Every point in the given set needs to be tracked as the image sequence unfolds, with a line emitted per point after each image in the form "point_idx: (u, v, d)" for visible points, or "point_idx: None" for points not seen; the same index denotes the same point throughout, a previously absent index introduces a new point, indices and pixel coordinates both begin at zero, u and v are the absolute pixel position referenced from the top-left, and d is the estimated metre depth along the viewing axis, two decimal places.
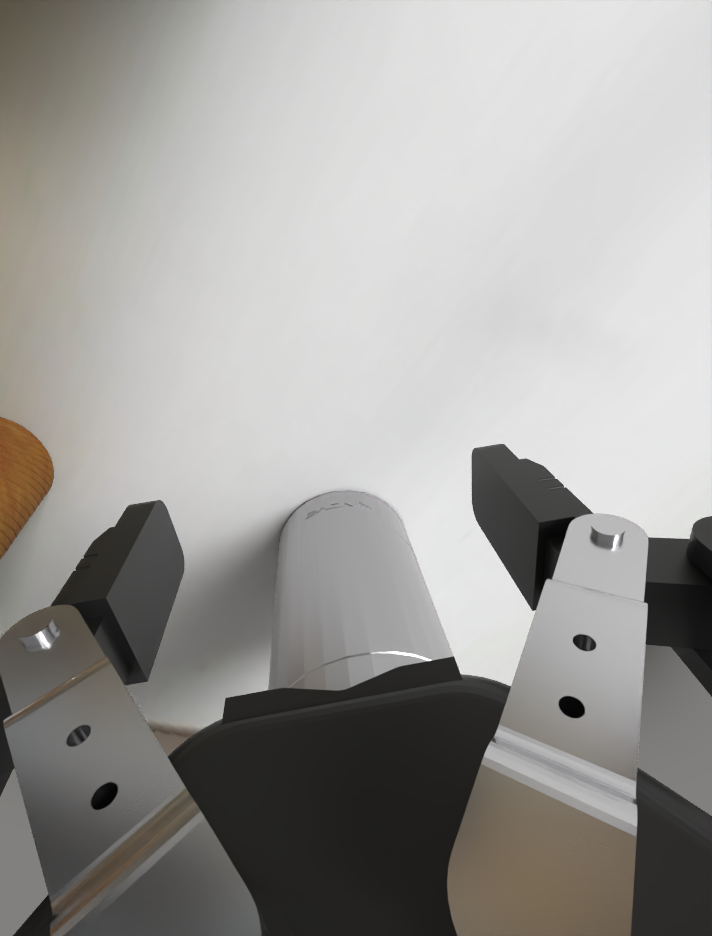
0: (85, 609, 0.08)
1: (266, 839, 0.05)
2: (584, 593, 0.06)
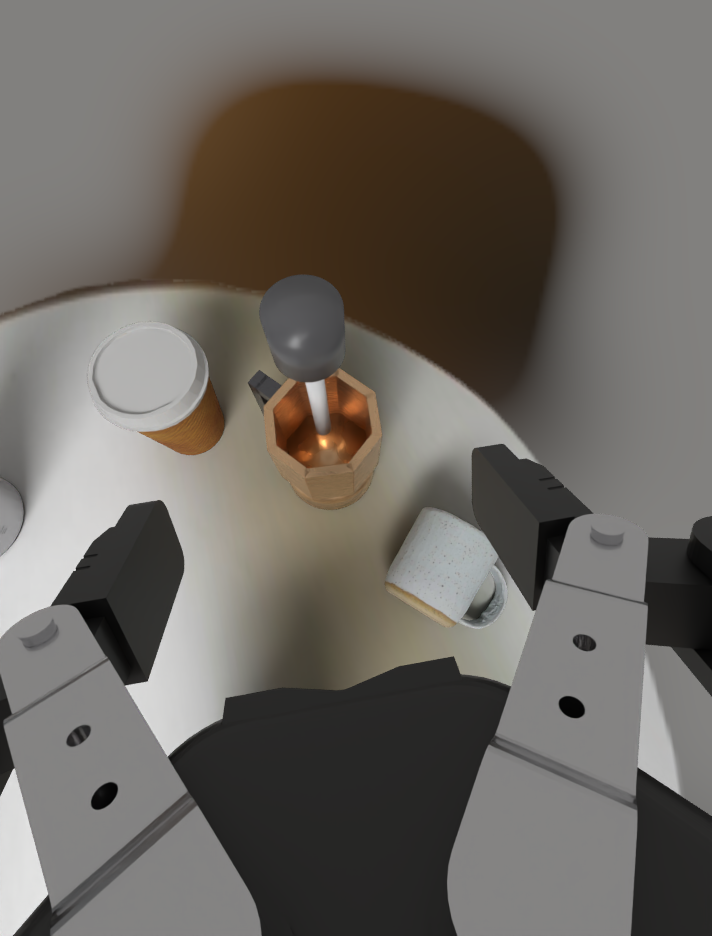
0: (85, 609, 0.08)
1: (266, 839, 0.05)
2: (584, 593, 0.06)
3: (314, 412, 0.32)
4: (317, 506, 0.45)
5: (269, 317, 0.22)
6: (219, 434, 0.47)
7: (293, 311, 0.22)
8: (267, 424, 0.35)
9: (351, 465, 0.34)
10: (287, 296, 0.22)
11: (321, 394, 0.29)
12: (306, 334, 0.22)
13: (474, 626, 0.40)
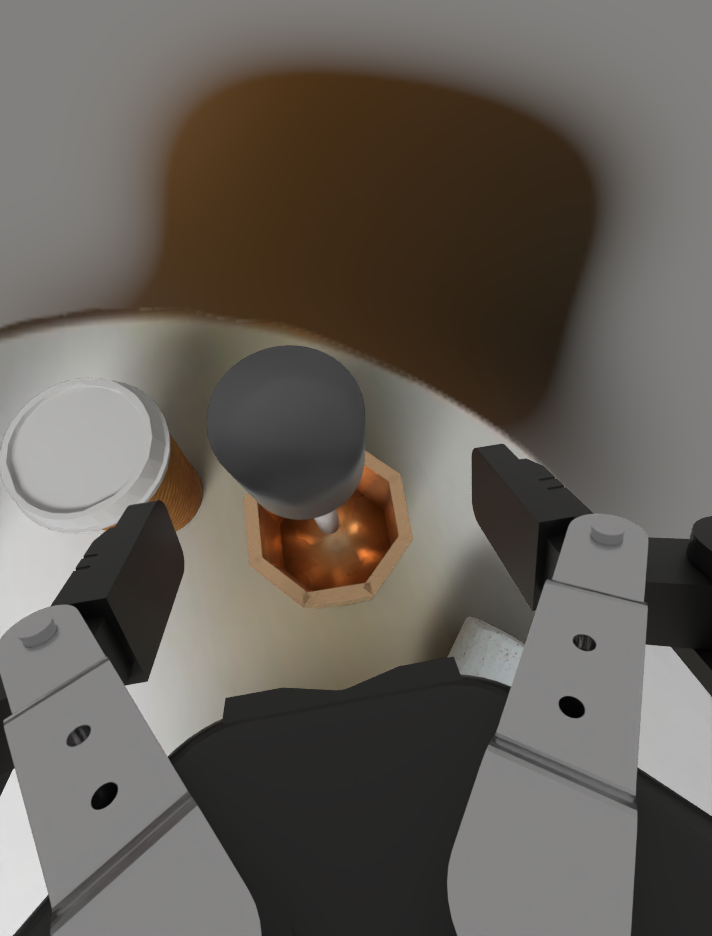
0: (85, 609, 0.08)
1: (266, 839, 0.05)
2: (584, 593, 0.06)
3: (315, 518, 0.22)
4: None
5: (225, 432, 0.12)
6: (195, 508, 0.36)
7: (271, 418, 0.12)
8: (249, 525, 0.25)
9: (370, 586, 0.23)
10: (259, 389, 0.12)
11: None
12: (295, 465, 0.11)
13: None
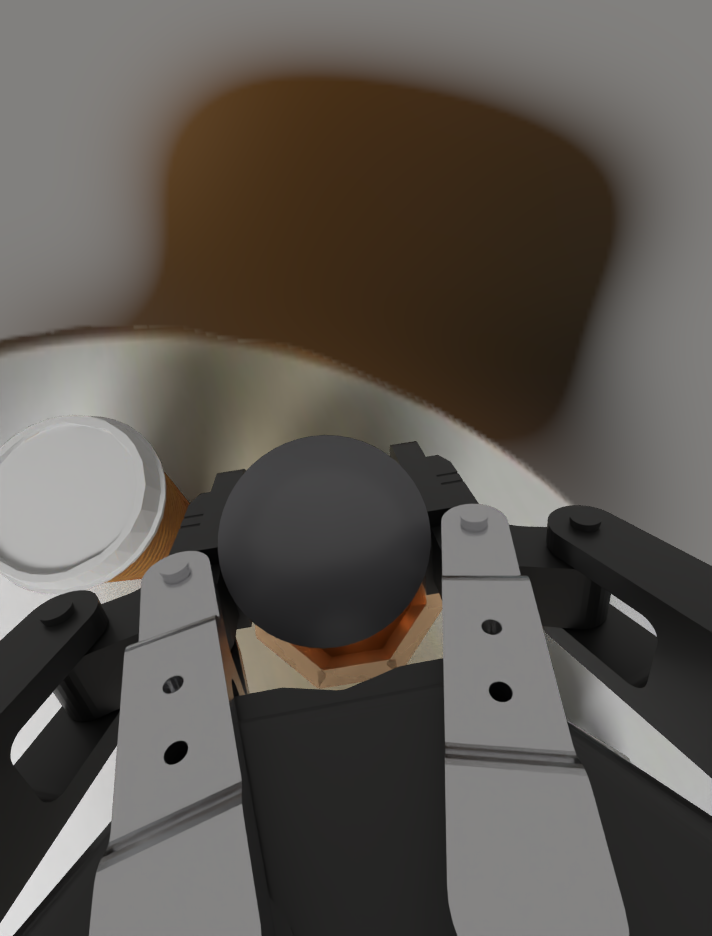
0: None
1: (266, 839, 0.05)
2: (477, 581, 0.07)
3: None
4: None
5: (243, 558, 0.09)
6: None
7: (304, 539, 0.09)
8: None
9: (395, 663, 0.20)
10: (288, 497, 0.09)
11: None
12: (339, 609, 0.08)
13: None
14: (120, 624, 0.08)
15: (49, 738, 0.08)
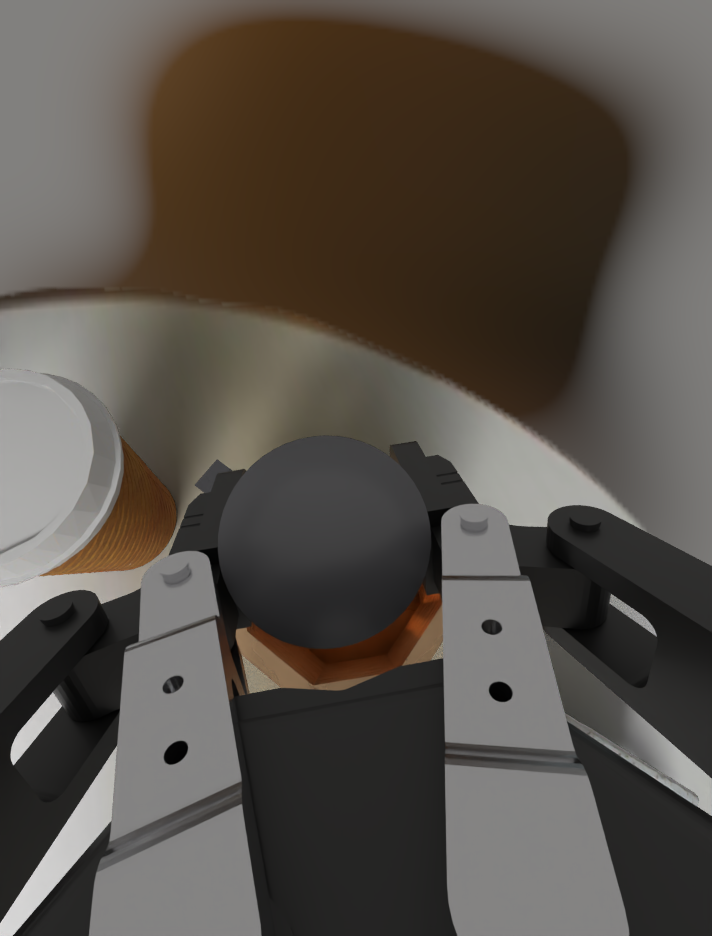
0: None
1: (266, 839, 0.05)
2: (477, 580, 0.07)
3: None
4: None
5: (243, 559, 0.09)
6: (166, 537, 0.29)
7: (305, 540, 0.09)
8: None
9: None
10: (289, 497, 0.09)
11: None
12: (339, 609, 0.08)
13: None
14: (120, 624, 0.08)
15: (49, 738, 0.08)
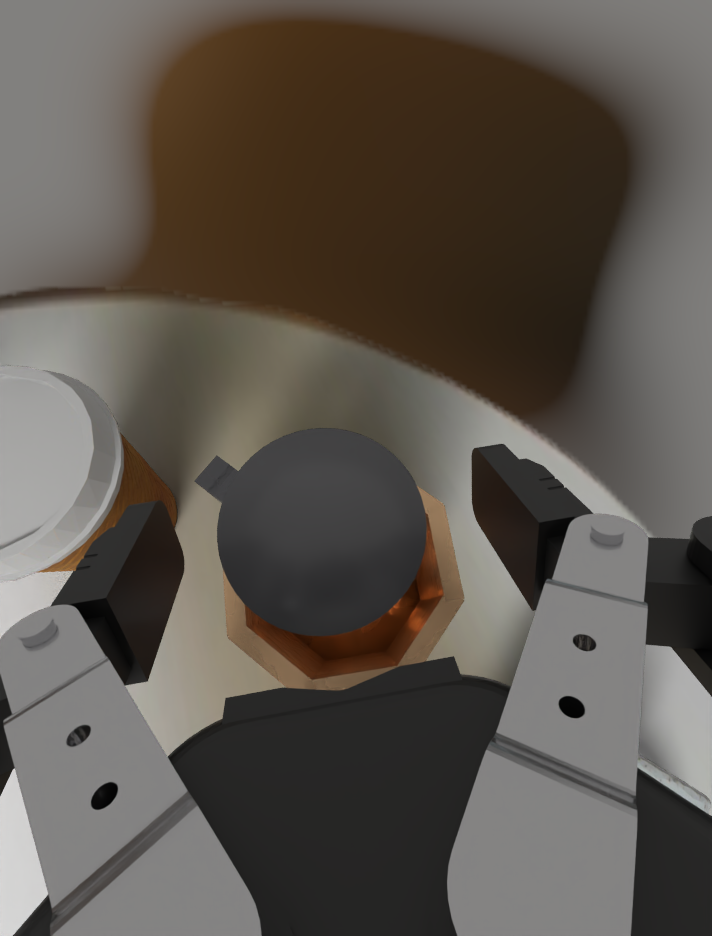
0: (85, 609, 0.08)
1: (266, 839, 0.05)
2: (584, 593, 0.06)
3: None
4: None
5: (242, 549, 0.09)
6: None
7: (303, 529, 0.09)
8: None
9: None
10: (287, 488, 0.09)
11: None
12: (336, 597, 0.08)
13: None
14: None
15: None
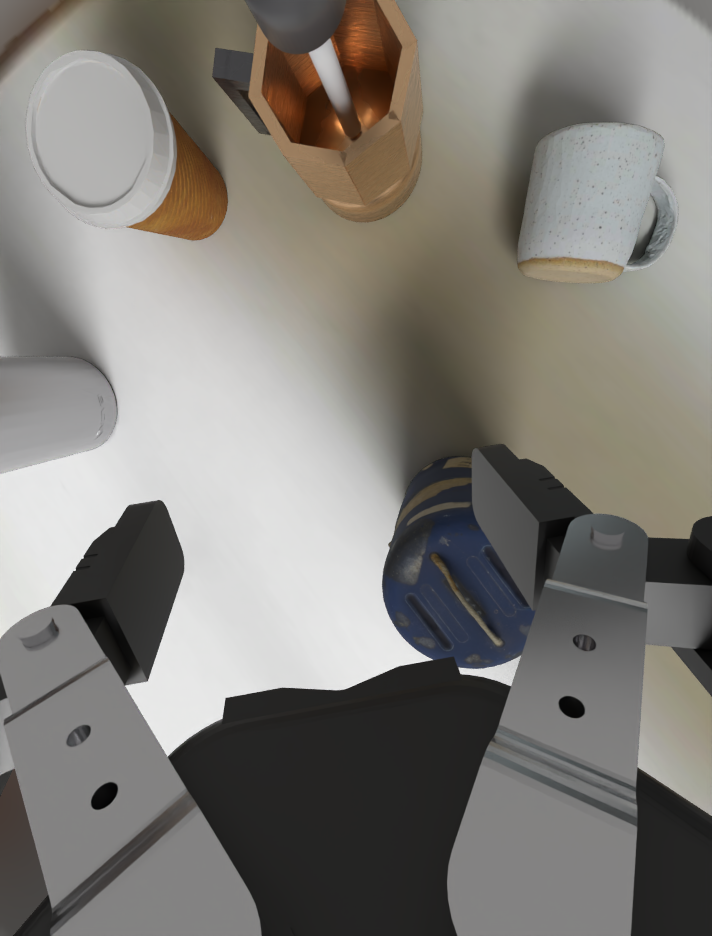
0: (85, 609, 0.08)
1: (266, 839, 0.05)
2: (584, 593, 0.06)
3: (336, 104, 0.27)
4: (372, 218, 0.36)
5: None
6: (223, 192, 0.38)
7: None
8: (266, 120, 0.26)
9: (394, 113, 0.24)
10: None
11: (336, 68, 0.24)
12: None
13: (642, 266, 0.33)
14: None
15: None
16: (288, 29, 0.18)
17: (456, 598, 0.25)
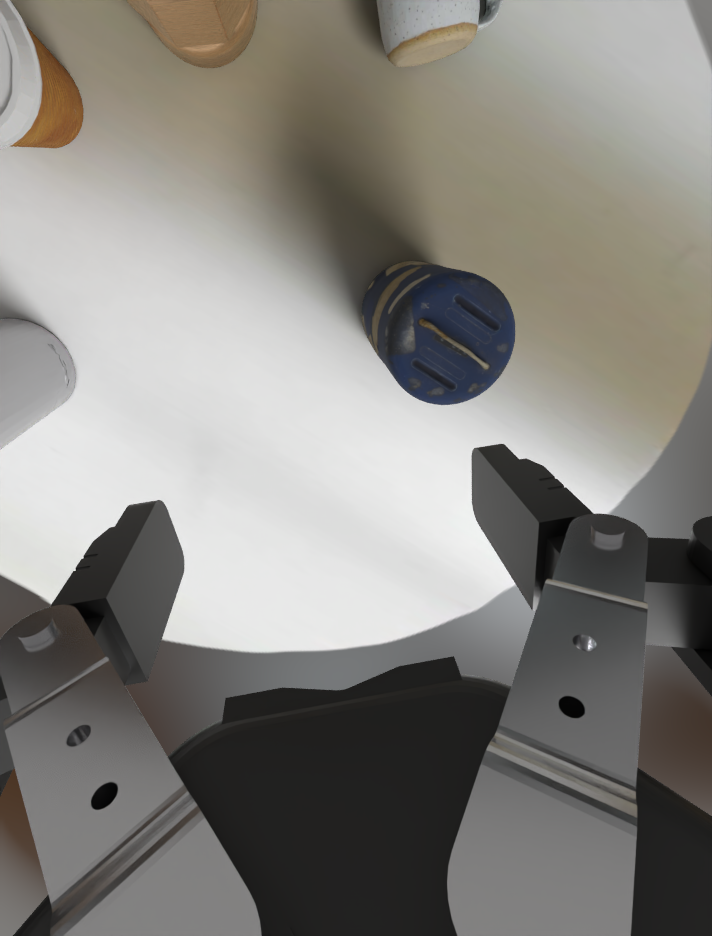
0: (85, 609, 0.08)
1: (266, 839, 0.05)
2: (584, 593, 0.06)
3: None
4: (231, 57, 0.36)
5: None
6: (71, 79, 0.36)
7: None
8: None
9: None
10: None
11: None
12: None
13: (489, 21, 0.36)
14: None
15: None
16: None
17: (447, 347, 0.32)
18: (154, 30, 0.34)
